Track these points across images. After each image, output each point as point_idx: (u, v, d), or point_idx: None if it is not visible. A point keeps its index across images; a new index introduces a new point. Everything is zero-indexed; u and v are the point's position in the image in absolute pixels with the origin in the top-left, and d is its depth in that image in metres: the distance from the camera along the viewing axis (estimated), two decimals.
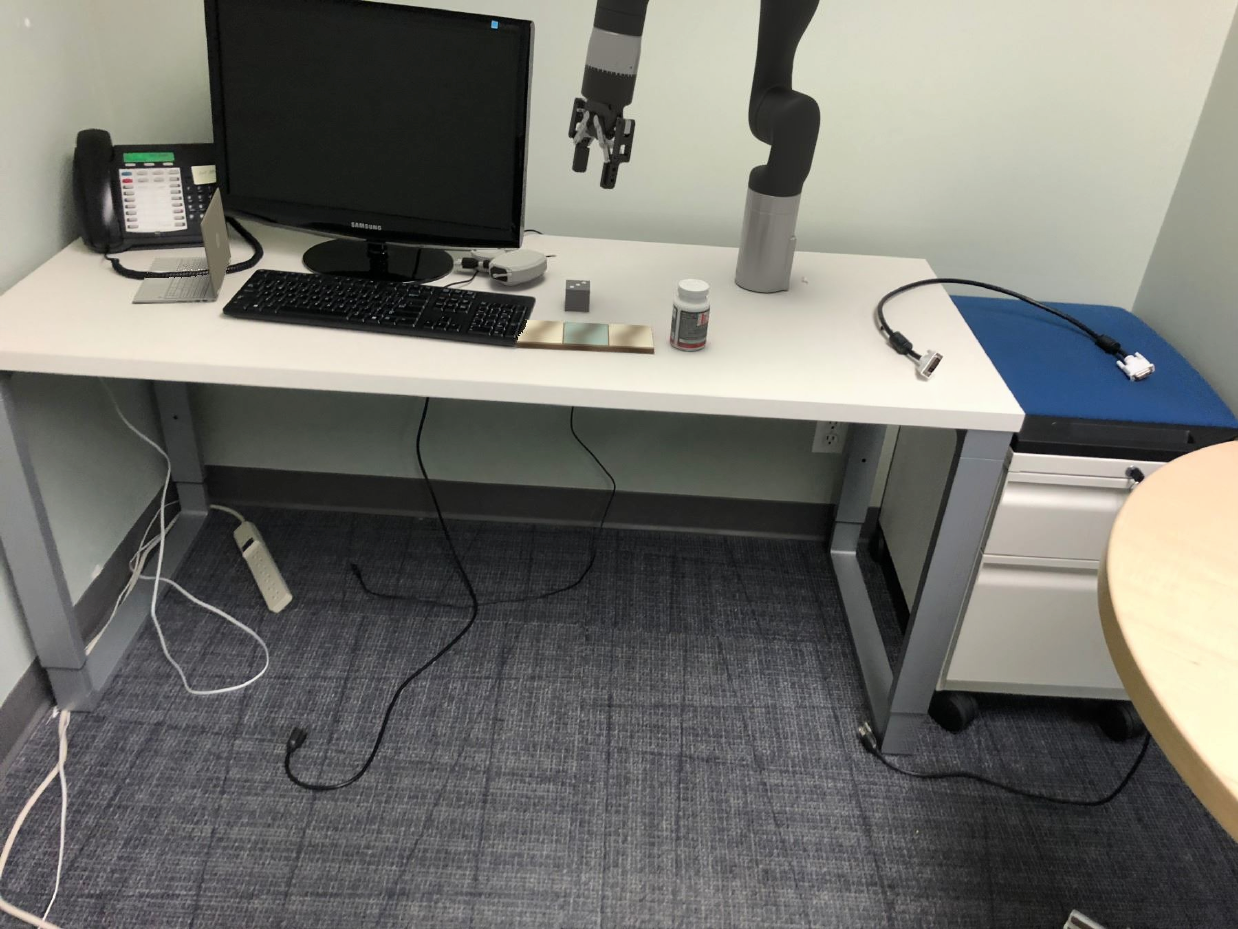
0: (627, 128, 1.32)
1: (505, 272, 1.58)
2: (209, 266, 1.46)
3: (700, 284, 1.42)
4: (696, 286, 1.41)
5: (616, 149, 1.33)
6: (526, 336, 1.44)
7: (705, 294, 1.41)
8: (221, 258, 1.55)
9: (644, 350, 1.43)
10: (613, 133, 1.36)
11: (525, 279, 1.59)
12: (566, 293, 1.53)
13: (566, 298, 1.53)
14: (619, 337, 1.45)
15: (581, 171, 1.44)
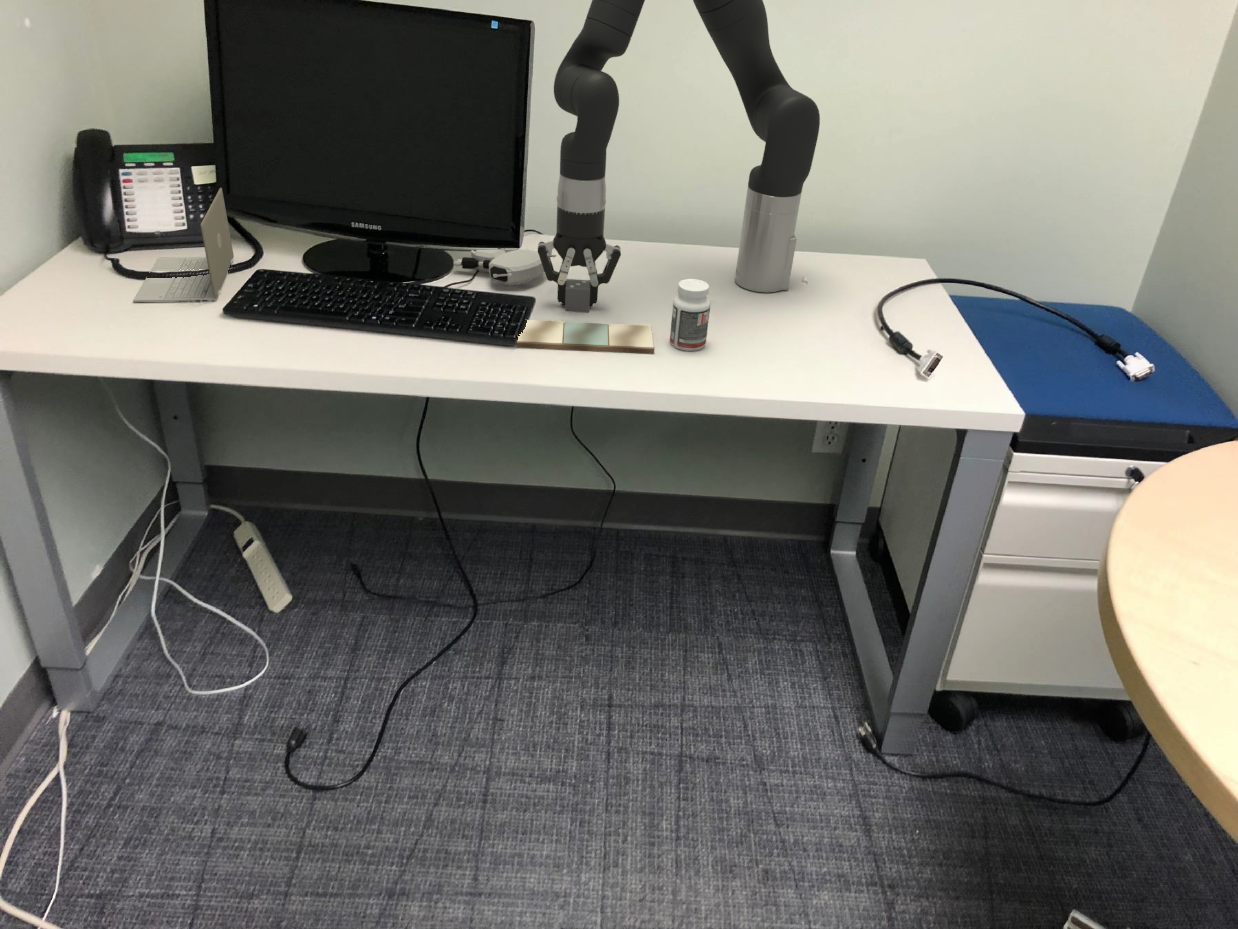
0: None
1: (505, 272, 1.58)
2: (209, 266, 1.46)
3: (700, 284, 1.42)
4: (696, 286, 1.41)
5: (610, 274, 1.52)
6: (526, 336, 1.44)
7: (705, 294, 1.41)
8: (223, 258, 1.55)
9: (644, 350, 1.43)
10: None
11: (525, 279, 1.59)
12: (566, 293, 1.53)
13: (566, 298, 1.53)
14: (619, 337, 1.45)
15: None
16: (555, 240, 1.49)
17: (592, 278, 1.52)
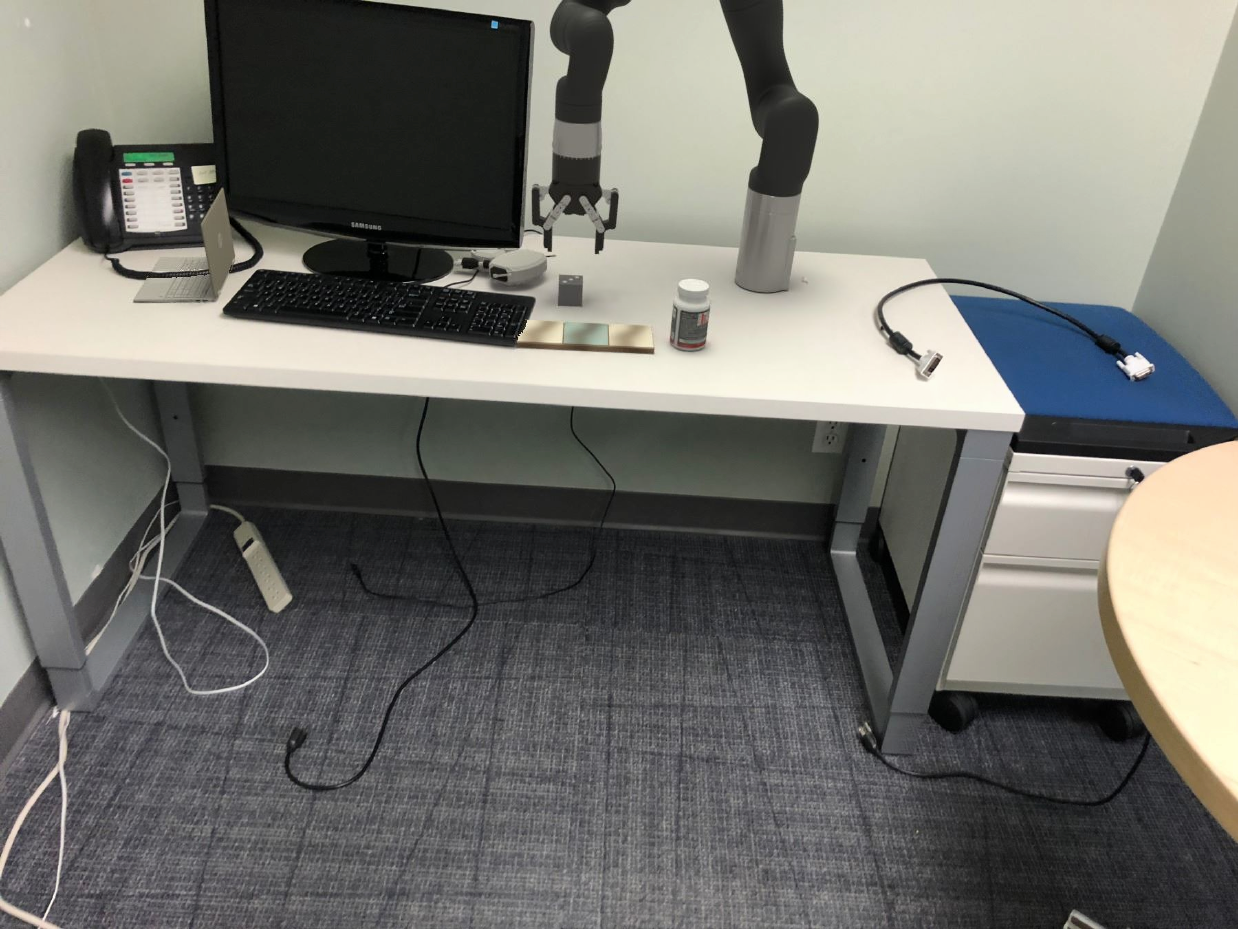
0: None
1: (505, 272, 1.58)
2: (209, 266, 1.46)
3: (700, 284, 1.42)
4: (696, 286, 1.41)
5: (615, 218, 1.49)
6: (526, 336, 1.44)
7: (705, 294, 1.41)
8: (223, 258, 1.55)
9: (644, 350, 1.43)
10: None
11: (525, 279, 1.59)
12: (559, 288, 1.54)
13: (559, 293, 1.55)
14: (619, 337, 1.45)
15: None
16: (552, 186, 1.46)
17: (597, 224, 1.49)
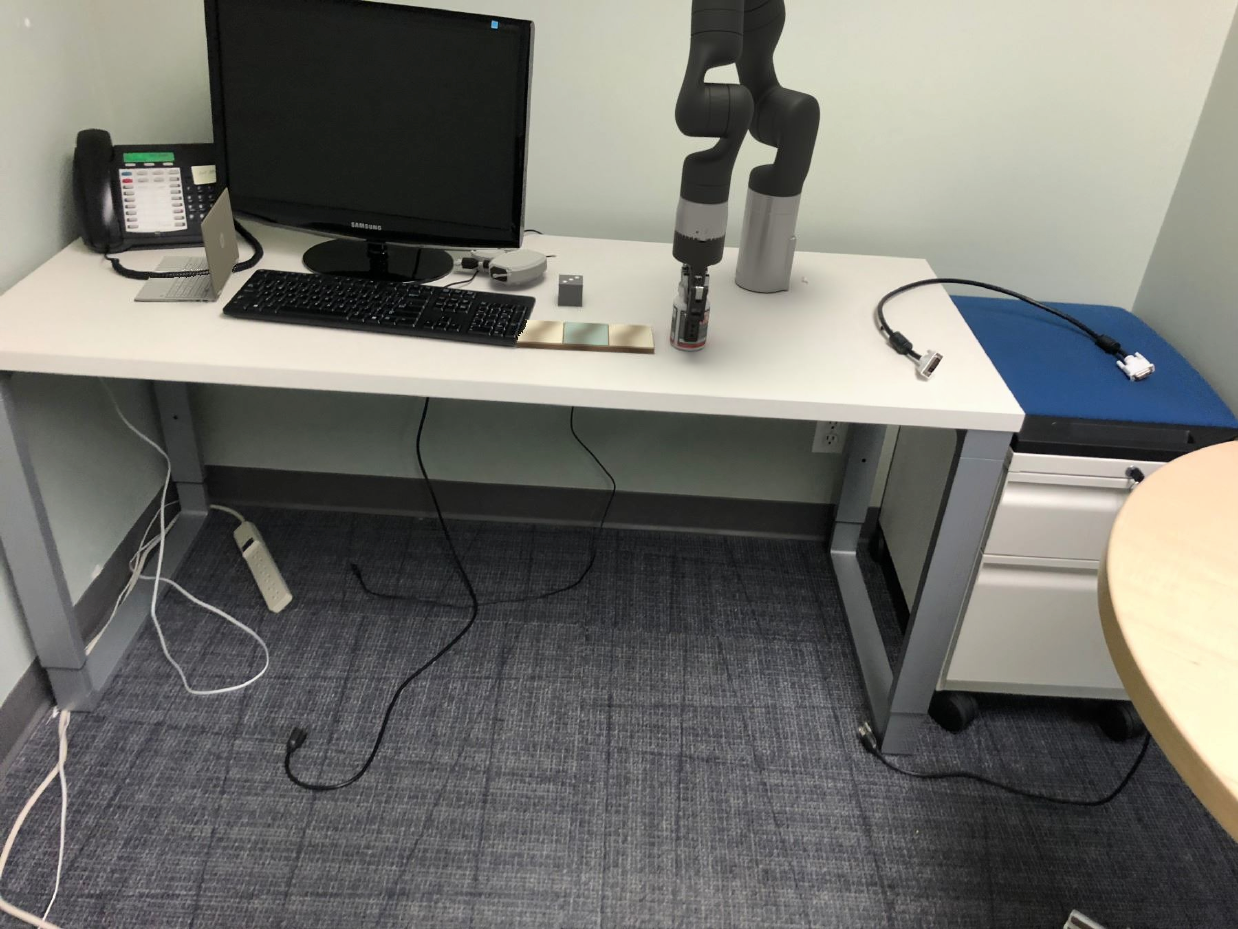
0: None
1: (505, 272, 1.58)
2: (209, 266, 1.46)
3: None
4: None
5: None
6: (526, 336, 1.44)
7: None
8: (226, 258, 1.55)
9: (644, 350, 1.43)
10: None
11: (525, 279, 1.59)
12: (559, 288, 1.54)
13: (559, 293, 1.55)
14: (619, 337, 1.45)
15: None
16: (704, 275, 1.37)
17: None
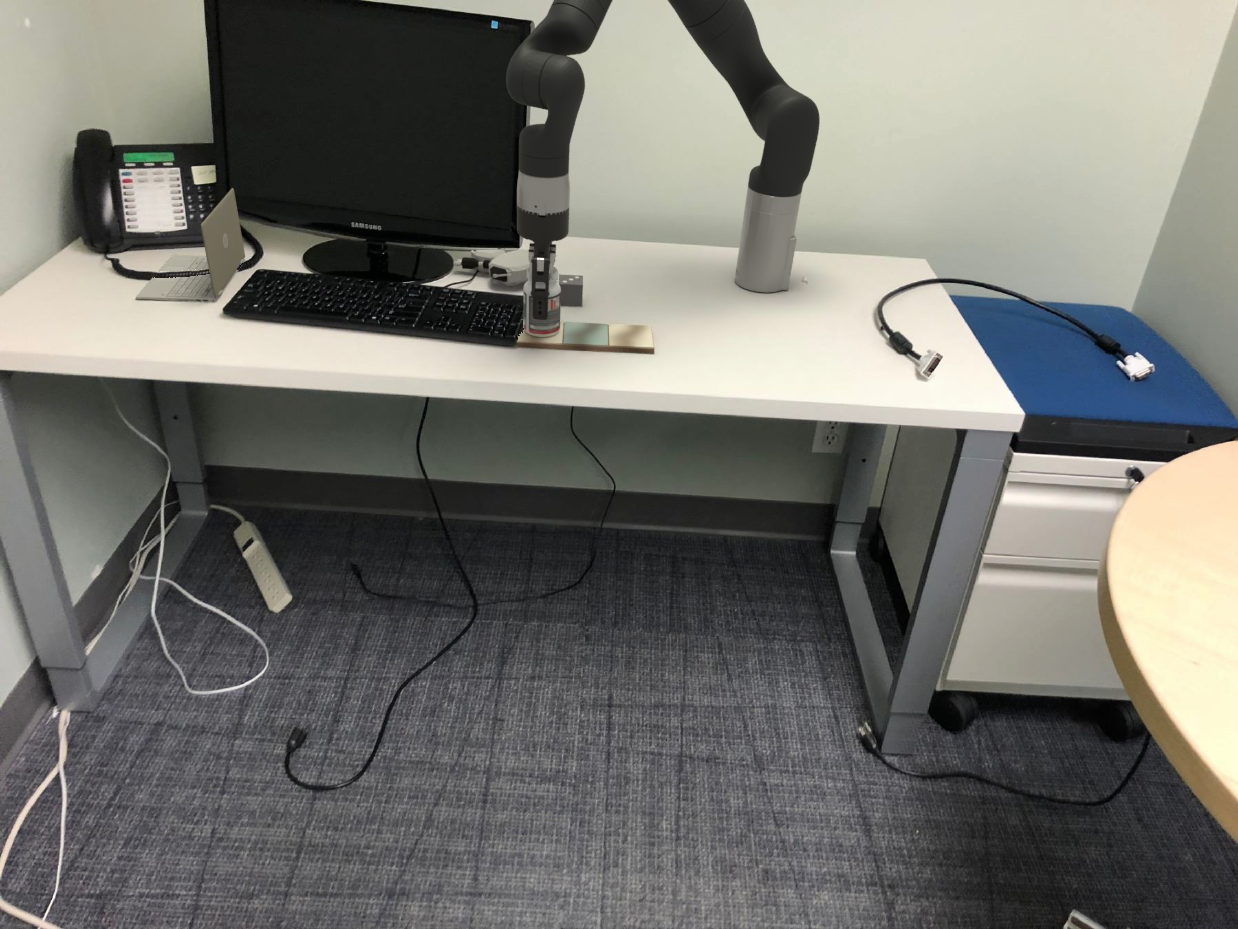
0: None
1: (505, 272, 1.58)
2: (209, 266, 1.46)
3: (549, 269, 1.40)
4: None
5: None
6: (526, 336, 1.44)
7: (553, 279, 1.39)
8: (229, 258, 1.55)
9: (644, 350, 1.43)
10: None
11: (525, 279, 1.59)
12: None
13: None
14: (619, 337, 1.45)
15: None
16: (547, 249, 1.34)
17: None
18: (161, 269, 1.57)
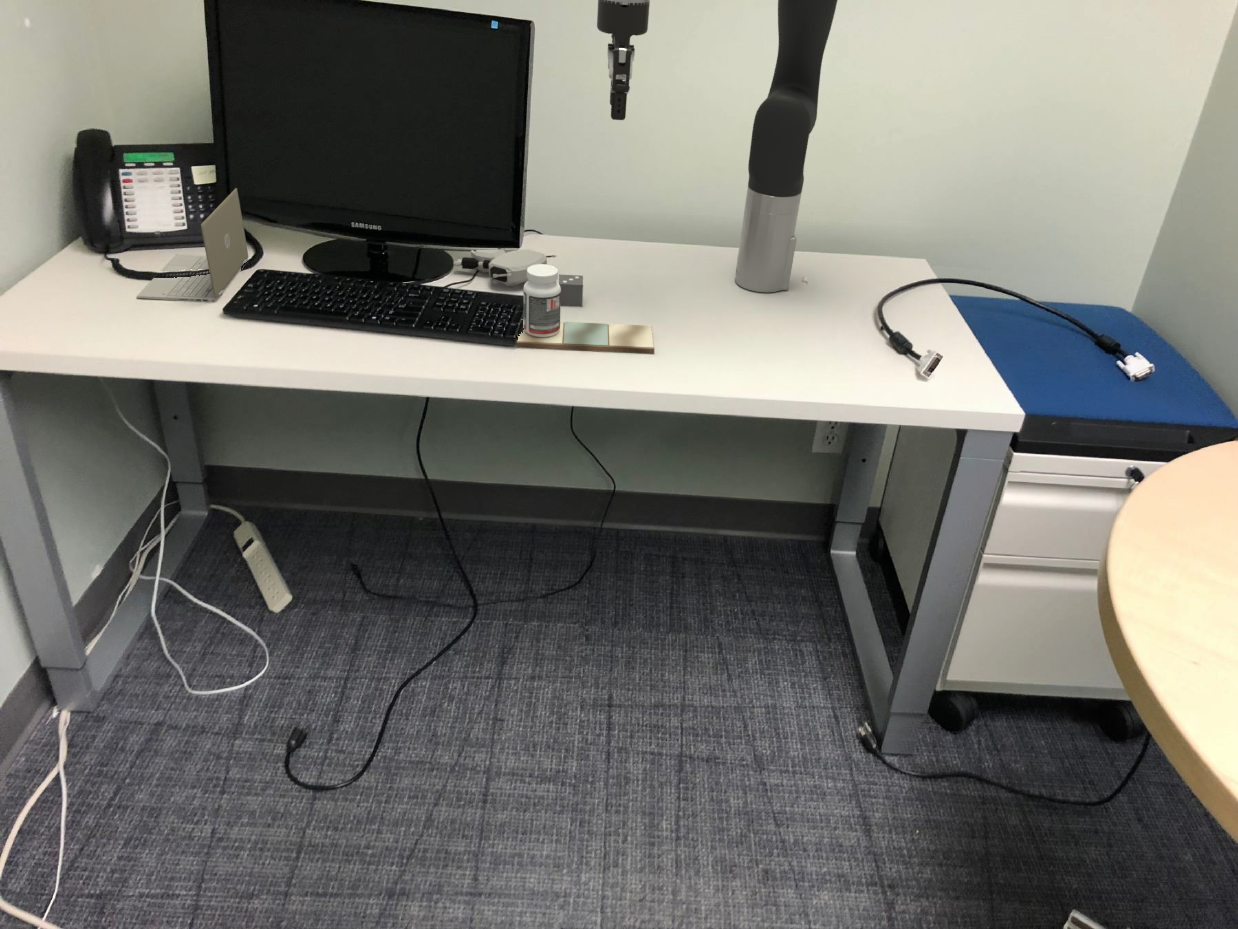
0: None
1: (505, 272, 1.58)
2: (209, 266, 1.46)
3: (549, 269, 1.40)
4: (543, 272, 1.40)
5: None
6: (526, 336, 1.44)
7: (553, 279, 1.39)
8: (231, 258, 1.55)
9: (644, 350, 1.43)
10: None
11: (525, 279, 1.59)
12: None
13: None
14: (619, 337, 1.45)
15: None
16: (628, 43, 1.36)
17: None
18: (164, 268, 1.57)
